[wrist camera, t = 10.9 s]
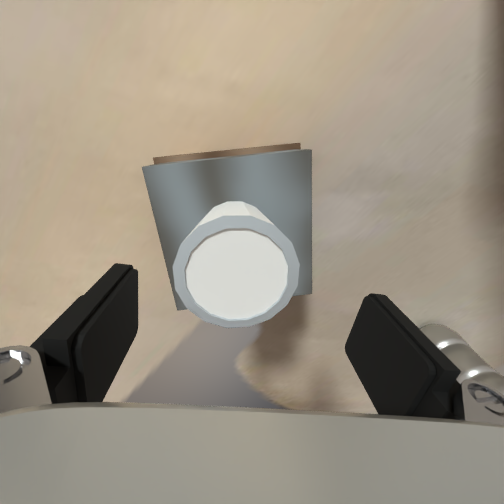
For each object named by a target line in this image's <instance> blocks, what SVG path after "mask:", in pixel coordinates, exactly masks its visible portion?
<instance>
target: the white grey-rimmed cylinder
mask: <svg viewBox="0 0 504 504" xmlns="http://www.w3.org/2000/svg"><path fill="white" fill-rule="evenodd" d="M299 267H300V264H299V261H298V258H297V255H296V252H295V249H294V247H293V244H292V242H291V241H290V240H289V239H288V238H287V237H286V236H285V235H284V234H283V233H282V232H281V231H280V230H279V229H278V228H277V227H276V226H275V225H274V224H273V223H272V222H271V221H270V220H269V219H268V218H267V217H266V216H265V215H263V214H262V213H261V212H260V211H259V210H258V209H257V208H256V207H254V206H252V205H250V204H247V203H245V202H242V201H227V202H225V203H222V204H220V205H218V206H215V207H213V208H212V210H211V211H210V212H209V213H208V214H207V215H206V216H205V217H204V218H203V219H202V220H201V221H200V222H199V224H198V225H197V226H196V227H195V228H194V229H193V230H192V232H191V233H190V234H189V235H188V236H187V237H186V238H185V240H184V241H183V242H182V243H181V244H180V247H179V250H178V253H177V255H176V258H175V261H174V264H173V275H174V284H175V290H176V292H177V293H178V295H179V297H180V298H181V300H182V301H183V303H184V305H185V306H186V308H187V309H188V310H190V311H191V312H192V313H194V314H195V315H196V316H198V317H199V318H201V319H202V320H203V321H205V322H208V323H211V324H215V325H218V326H222V327H225V328H236V327H251V326H253V325H256V324H259V323H261V322H264V321H267V320H269V319H271V318H272V317H273V316H275V315H276V314H277V313H278V312H279V311H281V310H282V309H283V308H284V307H285V306H286V305H287V304H288V303H289V301H290V299H291V297H292V295H293V293H294V292H295V290H296V288H297V286H298V277H299Z"/></svg>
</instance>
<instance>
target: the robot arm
mask: <svg viewBox="0 0 504 504" xmlns="http://www.w3.org/2000/svg"><path fill="white" fill-rule="evenodd" d="M137 330H138V271H137V269H133V266H132V265H126V264H118V263H116V264H114V265H113V266H112V267H111V268H110V269H109V270H108V271H107V272H106V273H105V274H104V275H103V276H102V277H101V278H100V279H99V280H98V281H97V282H96V283H95V284H94V285H93V286H92V287H91V288H90V289H89V290H88V291H87V292H86V294H85V295H82V296H80V297H79V298H78V299H77V300H76V301H75V302H74V303H73V304H72V305H71V306H70V307H69V308H68V309H67V310H66V311H65V312H64V313H63V314H62V315H61V316H60V317H59V318H58V319H57V320H56V321H55V322H54V323H53V324H52V325H51V326H50V327H49V328H48V329H47V330H46V331H45V332H44V333H43V334H42V335H41V336H40V337H39V338H38V339H37V340H36V341H35V342H34V343H33V344H32V345H31V346H30V347H28V346H21V345H20V346H9V347H4V348H0V504H504V395H503V394H501V393H500V392H499V391H497V390H496V389H494V388H492V387H490V386H489V385H487V384H484V383H482V382H480V381H476V380H472V379H465V380H464V381H462V383H461V384H460V383H459V382H458V381H457V380H456V379H457V377H458V376H459V374H460V373H461V370H460V369H459V368H458V367H457V366H456V365H455V364H454V363H453V362H452V361H451V360H450V359H449V358H448V357H447V356H446V355H445V354H444V353H443V352H442V351H441V350H440V349H439V348H438V347H437V346H436V345H435V344H434V343H433V342H432V341H431V340H430V339H429V338H428V337H427V336H426V335H425V334H424V333H423V332H422V331H421V330H420V329H419V328H418V327H417V326H416V325H415V324H414V323H413V322H412V321H411V320H410V319H409V318H408V317H407V316H406V315H405V314H404V313H403V312H402V311H401V310H400V309H399V308H398V307H397V306H396V305H395V304H394V303H393V302H392V301H391V300H390V299H389V298H388V297H387V296H385V295H381V294H372V293H371V294H369V295H368V296H366V297H365V298H364V299H363V302H362V304H361V307H360V309H359V312H358V314H357V317H356V319H355V322H354V324H353V327H352V329H351V332H350V334H349V337H348V339H347V342H346V344H345V352H346V354H347V356H348V358H349V360H350V362H351V364H352V365H353V367H354V369H355V371H356V373H357V375H358V377H359V379H360V380H361V382H362V384H363V386H364V388H365V390H366V392H367V394H368V395H369V397H370V399H371V401H372V403H373V405H374V407H375V409H376V410H377V412H378V414H379V415H378V414H361V413H344V412H325V411H306V410H287V409H266V408H247V407H224V406H202V405H182V404H181V405H180V404H157V403H155V404H154V403H122V402H102V401H103V399H104V397H105V395H106V393H107V391H108V389H109V388H110V386H111V384H112V382H113V380H114V378H115V376H116V374H117V372H118V370H119V368H120V366H121V364H122V362H123V360H124V358H125V356H126V354H127V352H128V350H129V348H130V346H131V344H132V342H133V340H134V338H135V336H136V334H137Z"/></svg>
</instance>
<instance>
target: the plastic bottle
mask: <svg viewBox="0 0 504 504" xmlns="http://www.w3.org/2000/svg"><path fill="white" fill-rule="evenodd" d="M420 330H421V331H422V332H423V333H424V334H425V335H426V336H427V337H428V338H429V339H430V340H431V341H432V342H433V343H434V344H435V345H436V346H437V347H438V348H439V349H440V350H441V351H442V352H443V353H444V354H445V355H446V356H447V357H448V358H449V359H450V360H451V361H452V362H453V363H454V364H455V365H456V366H457V367H458V368H459V369H460V370H461V373H460V374H459V376H458V377H457V379H456V380H457V381H458V382H459V383H460V384H461V383H462V381H464V380H465V379H472V380H476V381H480V382H482V383H484V384H487V385H489V386H490V387H492V388H494V389H496V390H497V391H499V392H500V393H501V394H503V395H504V377H503V376H502V375H500V374H499V373H498V372H497V371H496V370H494V369H493V368H492V367H491V366H490V365H488V364H487V363H486V362H485V361H484V360H483V359H482V358H481V357H480V356H479V355H478V354H477V353H476V352H475V351H474V350H473V349H472V348H471V347H470V346H469V345H468V344H467V342H466V341H465V340H464V339H463V338H462V337H461V336H460V335H459V334H458V333H457V332H455V331H454V330H452V329H450V328H448V327H447V326H444V325H438V324H430V325H427V326H424V327H422V328H421V329H420Z"/></svg>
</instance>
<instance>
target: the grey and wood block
mask: <svg viewBox="0 0 504 504" xmlns="http://www.w3.org/2000/svg"><path fill="white" fill-rule="evenodd" d="M153 160H154V165H149V166H144V167H142V170H143V174H144V178H145V182H146V186H147V190H148V194H149V198H150V202H151V206H152V210H153V214H154V218H155V222H156V226H157V230H158V234H159V238H160V242H161V247H162V251H163V255H164V259H165V263H166V267H167V271H168V275H169V279H170V283H171V287H172V291H173V295H174V299H175V303H176V307H177V310H185V309H187V308H186V306H185V305H184V303H183V301H182V300H181V298H180V297H179V295H178V293H177V292H176V290H175V284H174V275H173V264H174V261H175V258H176V255H177V253H178V250H179V247H180V244H181V243H182V242H183V241H184V240H185V238H186V237H187V236H188V235H189V234H190V233H191V232H192V230H193V229H194V228H195V227H196V226H197V225H198V224H199V222H200V221H201V220H202V219H203V218H204V217H205V216H206V215H207V214H208V213H209V212H210V211H211V210H212V208H213V207H215V206H218V205H220V204H222V203H225V202H227V201H242V202H245V203H247V204H250V205H252V206H254V207H256V208H257V209H258V210H259V211H260V212H261V213H262V214H263V215H265V216H266V217H267V218H268V219H269V220H270V221H271V222H272V223H273V224H274V225H275V226H276V227H277V228H278V229H279V230H280V231H281V232H282V233H283V234H284V235H285V236H286V237H287V238H288V239H289V240H290V241H291V242H292V244H293V247H294V249H295V252H296V255H297V258H298V261H299V264H300V267H299V277H298V286H297V288H296V290H295V292H294V293H293V295H292V296H297V295H305V294H312V150H300V143H293V144H283V145H273V146H263V147H253V148H243V149H233V150H224V151H214V152H204V153H194V154H184V155H174V156H164V157H156V158H153Z"/></svg>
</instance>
